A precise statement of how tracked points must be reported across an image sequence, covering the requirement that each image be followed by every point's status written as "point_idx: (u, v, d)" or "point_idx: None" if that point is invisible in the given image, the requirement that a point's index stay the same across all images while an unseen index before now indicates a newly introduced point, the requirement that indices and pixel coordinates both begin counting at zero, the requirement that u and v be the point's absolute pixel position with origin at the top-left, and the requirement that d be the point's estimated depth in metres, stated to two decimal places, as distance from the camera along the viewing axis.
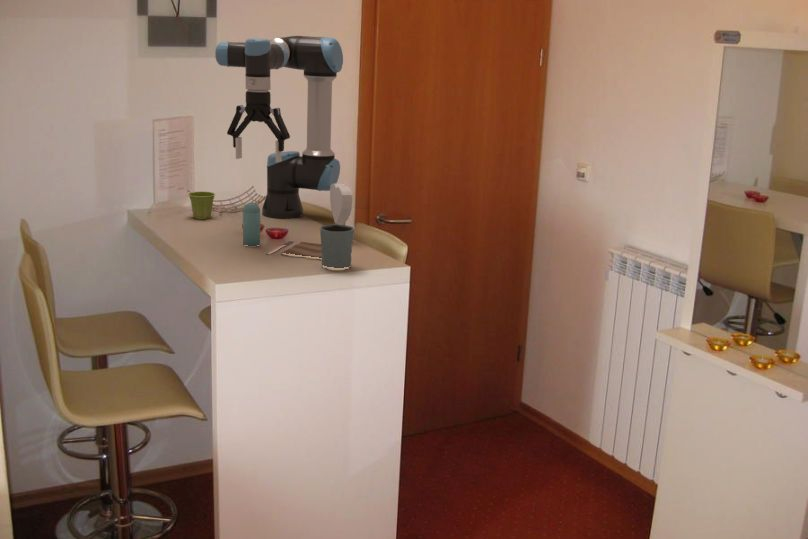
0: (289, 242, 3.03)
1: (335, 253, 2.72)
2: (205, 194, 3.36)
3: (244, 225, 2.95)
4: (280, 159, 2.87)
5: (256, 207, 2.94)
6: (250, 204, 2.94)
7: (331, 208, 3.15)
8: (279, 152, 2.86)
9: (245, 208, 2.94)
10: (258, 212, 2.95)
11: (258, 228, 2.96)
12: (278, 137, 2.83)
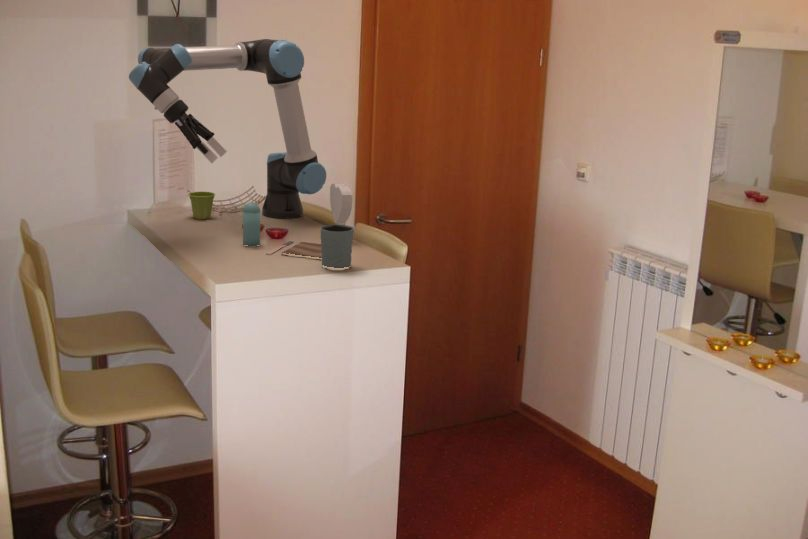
0: (289, 242, 3.03)
1: (335, 253, 2.72)
2: (205, 194, 3.36)
3: (244, 225, 2.95)
4: (214, 157, 2.84)
5: (256, 207, 2.94)
6: (250, 204, 2.94)
7: (331, 208, 3.15)
8: (207, 153, 2.84)
9: (245, 208, 2.94)
10: (258, 212, 2.95)
11: (258, 228, 2.96)
12: None
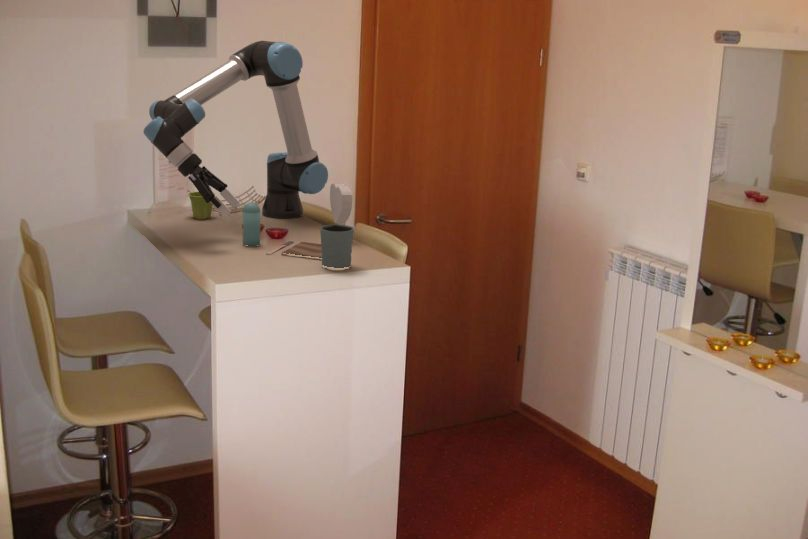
0: (289, 242, 3.03)
1: (335, 253, 2.72)
2: None
3: (244, 225, 2.95)
4: (227, 211, 2.88)
5: (256, 207, 2.94)
6: (250, 204, 2.94)
7: (331, 208, 3.15)
8: (220, 207, 2.88)
9: (245, 208, 2.94)
10: (258, 212, 2.95)
11: (258, 228, 2.96)
12: None
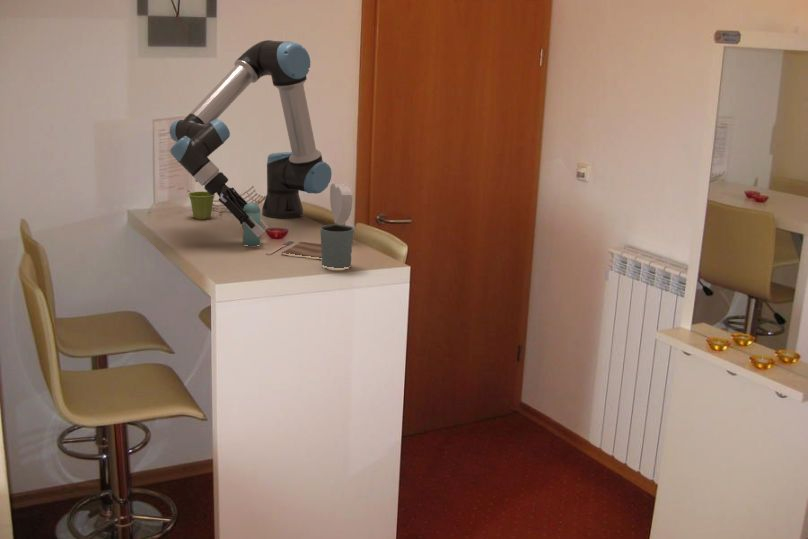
0: (289, 242, 3.03)
1: (335, 253, 2.72)
2: (205, 194, 3.36)
3: (244, 225, 2.95)
4: (261, 231, 2.94)
5: (256, 207, 2.94)
6: (250, 204, 2.94)
7: (331, 208, 3.15)
8: (254, 228, 2.94)
9: (245, 208, 2.94)
10: (258, 212, 2.95)
11: None
12: None
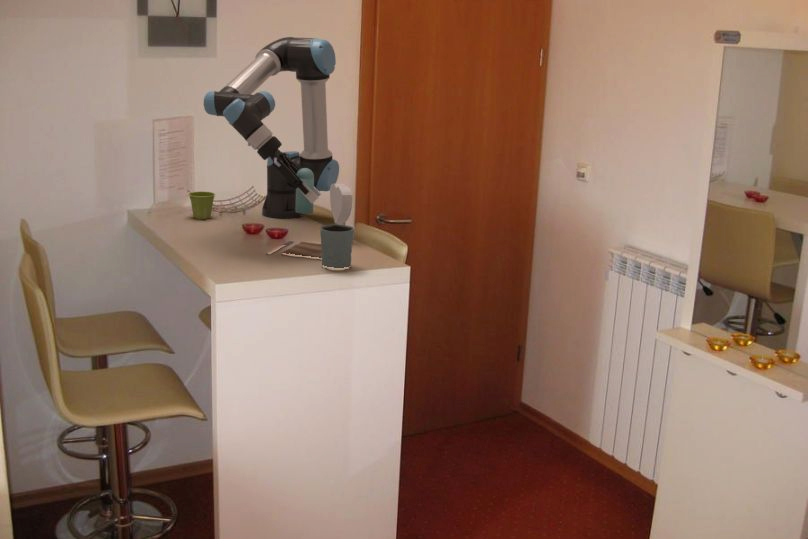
0: (289, 242, 3.03)
1: (335, 253, 2.72)
2: (205, 194, 3.36)
3: (297, 191, 2.86)
4: (314, 198, 2.85)
5: (310, 172, 2.85)
6: (304, 169, 2.85)
7: (331, 208, 3.15)
8: (308, 194, 2.85)
9: (299, 173, 2.85)
10: (312, 178, 2.86)
11: None
12: None
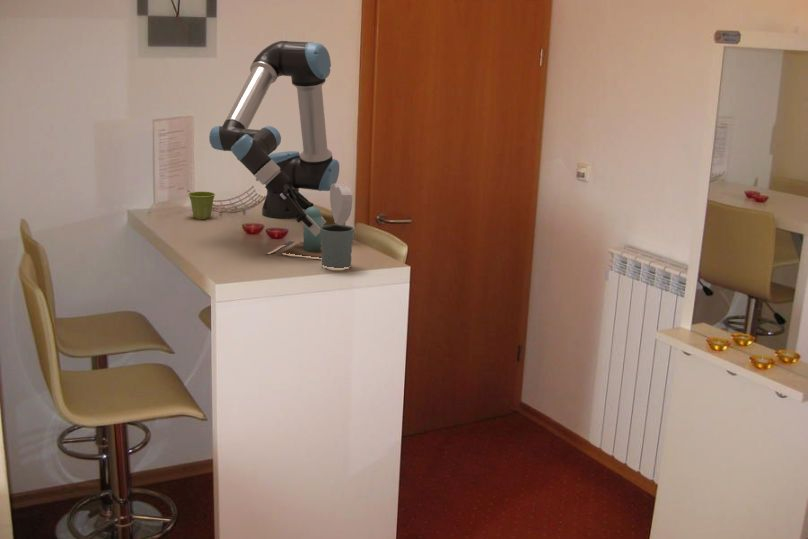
0: (289, 242, 3.03)
1: (335, 253, 2.72)
2: (205, 194, 3.36)
3: (305, 230, 2.89)
4: (318, 230, 2.85)
5: (317, 211, 2.88)
6: (311, 208, 2.88)
7: (331, 208, 3.15)
8: (311, 226, 2.84)
9: (306, 212, 2.88)
10: (319, 216, 2.89)
11: (319, 233, 2.90)
12: None
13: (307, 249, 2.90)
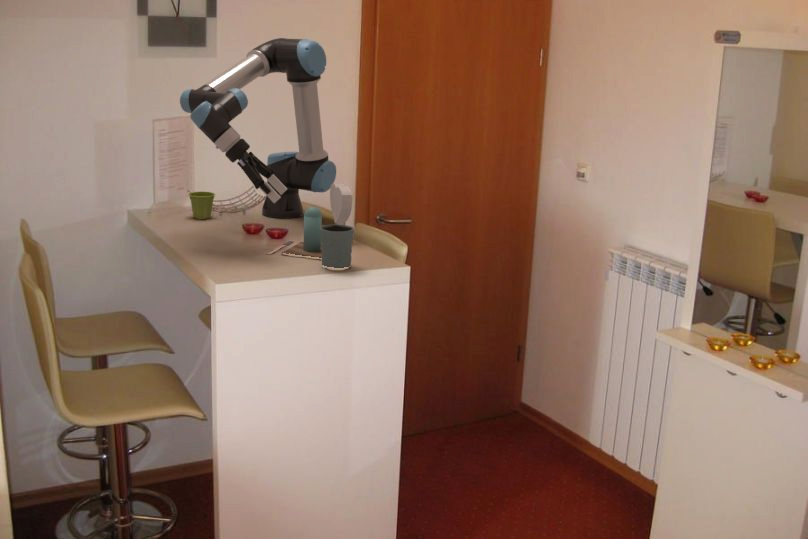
0: (289, 242, 3.03)
1: (335, 253, 2.72)
2: (205, 194, 3.36)
3: (305, 229, 2.89)
4: (277, 197, 2.82)
5: (318, 211, 2.88)
6: (312, 208, 2.88)
7: (331, 208, 3.15)
8: (270, 193, 2.81)
9: (307, 212, 2.88)
10: (320, 216, 2.89)
11: (319, 233, 2.90)
12: None
13: (307, 249, 2.90)
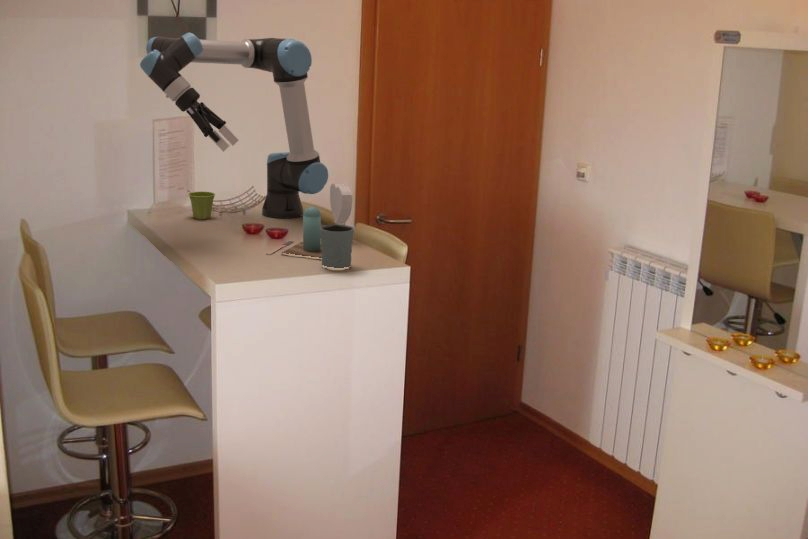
0: (289, 242, 3.03)
1: (335, 253, 2.72)
2: (205, 194, 3.36)
3: (305, 229, 2.89)
4: (226, 145, 2.83)
5: (317, 211, 2.89)
6: (311, 208, 2.88)
7: (331, 208, 3.15)
8: (219, 142, 2.82)
9: (306, 212, 2.88)
10: (319, 216, 2.89)
11: (319, 232, 2.90)
12: None
13: (307, 249, 2.90)
